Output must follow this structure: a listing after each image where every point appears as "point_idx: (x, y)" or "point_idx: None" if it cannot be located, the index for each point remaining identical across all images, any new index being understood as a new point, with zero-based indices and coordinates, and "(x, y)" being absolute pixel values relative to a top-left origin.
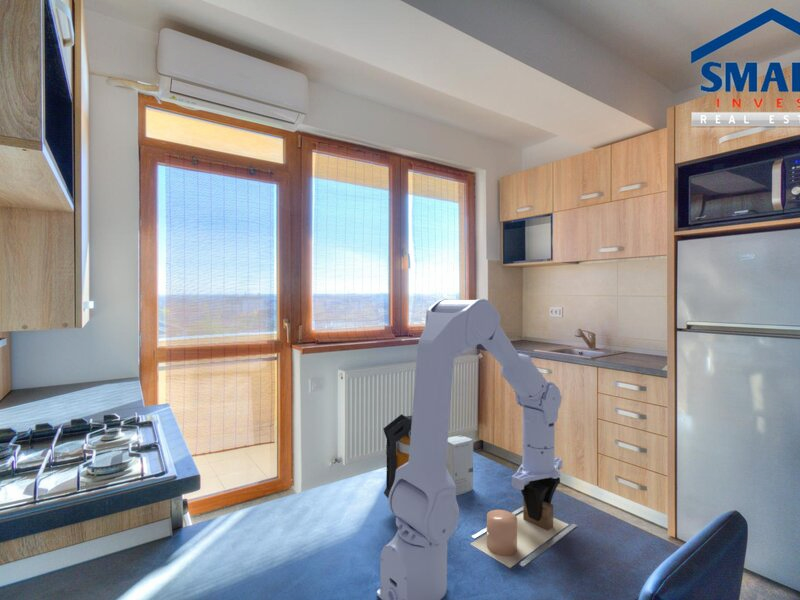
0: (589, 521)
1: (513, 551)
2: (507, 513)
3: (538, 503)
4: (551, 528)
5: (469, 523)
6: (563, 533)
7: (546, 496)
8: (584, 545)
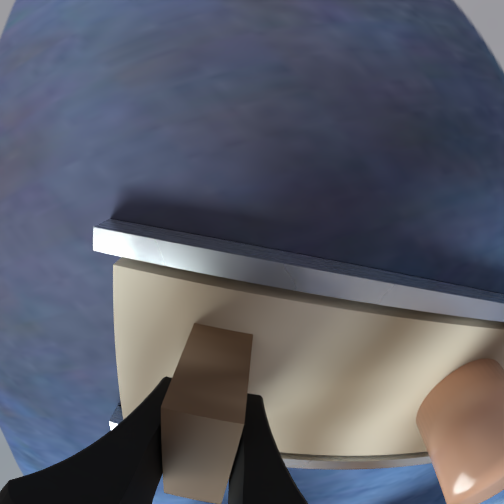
0: (10, 204)
1: (495, 365)
2: (473, 486)
3: (291, 483)
4: (217, 325)
5: (335, 487)
6: (228, 263)
7: (146, 466)
8: (203, 151)
